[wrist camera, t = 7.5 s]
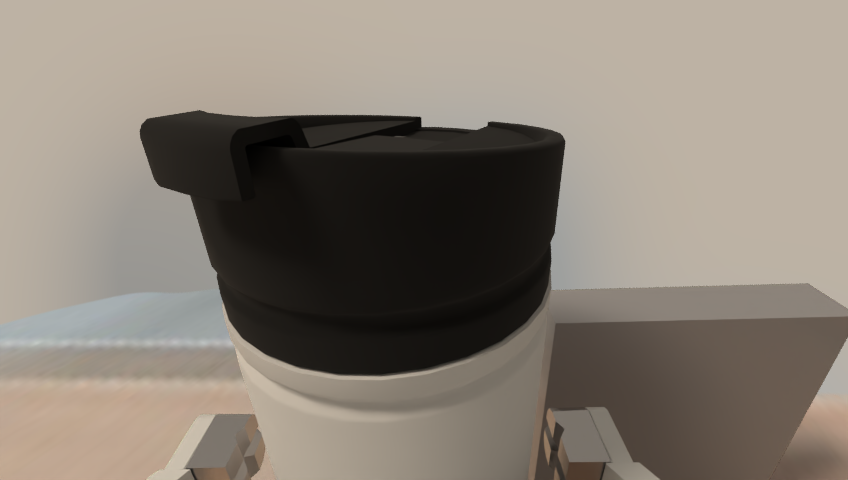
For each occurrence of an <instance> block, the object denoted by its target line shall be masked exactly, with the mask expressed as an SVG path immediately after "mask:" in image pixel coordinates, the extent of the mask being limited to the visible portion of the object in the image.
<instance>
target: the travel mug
mask: <svg viewBox="0 0 848 480" xmlns="http://www.w3.org/2000/svg"><path fill="white" fill-rule="evenodd" d="M140 138H141V141H142V144H143V147H144V150H145V153H146V156H147V159H148V162H149V165H150V168H151V171H152V174H153V177H154V180H155V181H156V182H157V184H158V185H159V186H161V187H164V188H167V189H171V190H174V191H177V192H180V193H184V194H188V195H190V196H191V200H192V203H193V206H194V209H195V213H196V216H197V219H198V223H199V226H200V229H201V233H202V236H203V239H204V243H205V246H206V249H207V253H208V256H209V259H210V262H211V265H212V267H213V268H214V269H215V270H216V272H217V280H218V285H219V289H220V294H221V297H222V300H223V303H222V308H223V313H224V317H225V322H226V326H227V329H228V332H229V335H230V338H231V341H232V342H233V344H234V345H235V350H236V354H237V358H238V363H239V366H240V369H241V372H242V375H243V378H244V381H245V385H246V388H247V391H248V394H249V397H250V400H251V403H252V406H253V409H254V412H255V416H256V419H257V422H258V425H259V428H260V431H261V434H262V437H263V440H264V444H265V447H266V450H267V453H268V456H269V459H270V462H271V465H272V468H273V471H274V475H275V478H276V480H528V473H529V465H530V457H531V449H532V441H533V433H534V425H535V417H536V408H537V400H538V392H539V384H540V376H541V368H542V360H543V352H544V343H545V335H546V327H547V319H546V312H547V309H548V307H549V303H550V295H551V270H550V267H551V244H550V242H551V240H552V237H553V235H554V233H555V225H556V216H557V207H558V199H559V191H560V182H561V174H562V165H563V157H564V149H565V140H564V138H563V136H562V135H561V134H560V133H558V132H555V131H552V130H548V129H544V128H539V127H533V126H527V125H520V124H510V123H501V122H488V126H487V127H484V128H481V129H479V130H468V129H458V128H442V127H421V117H411V116H381V115H301V116H300V115H299V116H271V117H247V116H232V115H222V114H214V113H207V112H204V111H200V110H199V111H193V112H186V113H180V114H174V115H168V116H162V117H155V118H149V119H147V120H146V121H145V122H144V123H143V124H142V125H141V129H140Z"/></svg>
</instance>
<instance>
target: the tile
mask: <svg viewBox="0 0 848 480" xmlns="http://www.w3.org/2000/svg"><path fill="white" fill-rule="evenodd" d="M546 319H547V327H546V335H545V343H544V352H543V360H542V368H541V376H540V384H539V392H538V400H537V408H536V417H535V425H534V433H533V441H532V449H531V457H530V465H529V473H528V480H554V474H555V471H554V470H553V469H552V468H551V467H550V466H549V465H548V462H547V458H546V453H545V448H544V431H545V428H546V427H547V426H548V422H547V418H546V416H547V411H548V409H549V408H569V407H585V408H586V407H605V408H606V409H607V410H608V412H609V414H610V416H611V418H612V420H613V422H614V424H615V426H616V428H617V430H618V432H619V434H620V436H621V438H622V440H623V442H624V444H625V446H626V448H627V450H628V452H629V454H630V456H631V458H632V460H633V462H639V463H641V464H642V465H643V466H644V467H645V468H647V469H648V470H649V471H650V472H652V473H653V474H654V475H655V476H656V477H658V478H659V479H660V480H770V478H771V476H772V474H773V472H774V470H775V469H776V467H777V465H778V463H779V461H780V460H781V458H782V456H783V454H784V452H785V450H786V449H787V447H788V445H789V443H790V441H791V440H792V438H793V436H794V434H795V432H796V430H797V429H798V427H799V425H800V423H801V421H802V420H803V418H804V416H805V414H806V412H807V410H808V409H809V407H810V405H811V403H812V401H813V399H814V398H815V396H816V394H817V392H818V390H819V388H820V387H821V385H822V383H823V381H824V379H825V378H826V376H827V374H828V372H829V370H830V368H831V367H832V365H833V363H834V361H835V359H836V358H837V356H838V354H839V352H840V350H841V349H842V347H843V345H844V343H845V341H846V339H847V338H848V309H847V308H846V307H844V306H843V305H841V304H839V303H838V302H836V301H835V300H833V299H831V298H830V297H828V296H827V295H825V294H824V293H822V292H821V291H819V290H817V289H816V288H814V287H813V286H811V285H810V284H769V285H732V286H694V287H693V286H692V287H655V288H617V289H575V290H551V295H550V303H549V307H548V309H547V312H546Z"/></svg>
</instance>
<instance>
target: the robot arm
mask: <svg viewBox="0 0 848 480" xmlns="http://www.w3.org/2000/svg"><path fill="white" fill-rule="evenodd" d="M546 418H547V422H548V426H547V427H546V428H545V431H544V448H545V453H546V458H547V462H548V465H549V466H550V467H551V468H552V469H553V470H554V471H555V474H554V480H660V479H659V478H658V477H656V476H655V475H654V474H653V473H652V472H650V471H649V470H648V469H647V468H645V467H644V466H643V465H642V464H641V463H639V462H633V460H632V458H631V456H630V454H629V452H628V450H627V448H626V446H625V444H624V442H623V440H622V438H621V436H620V434H619V432H618V430H617V428H616V426H615V424H614V422H613V420H612V418H611V416H610V414H609V412H608V410H607V409H606V408H605V407H586V408H585V407H569V408H549V409H548V411H547V416H546ZM257 428H258V422H257V419H256V416H255V414H201V415H200V416H198V417H197V418H196V419H195V420H194V422H193V424H192V425H191V427H190V428H189V430H188V432H187V433H186V435H185V437H184V438H183V440H182V441H181V443H180V445H179V446H178V448H177V449H176V451H175V453H174V454H173V456H172V458H171V459H170V461H169V462H168V464H167V466H166V467H165V469H163V470H158V471H156V472H155V473H154V474H152V475H151V476H150V477H148V478H147V479H146V480H251V477H252V476H254V475H255V474H256V473H257V472H258V471H259V470H260V467H261V465H262V462H263V459H264V453H265V444H264V440H263V437H262V434H261V432H260V431H259V430H258V429H257Z"/></svg>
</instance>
